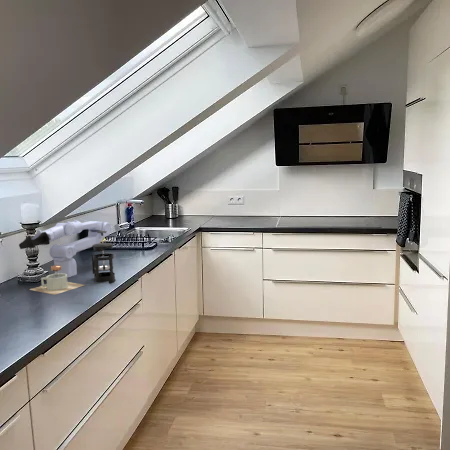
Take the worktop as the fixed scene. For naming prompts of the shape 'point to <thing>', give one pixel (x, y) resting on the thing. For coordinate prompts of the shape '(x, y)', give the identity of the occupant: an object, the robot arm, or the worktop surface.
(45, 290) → the serving board
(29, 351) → the worktop surface
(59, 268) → the plunger
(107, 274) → the french press
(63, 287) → the faceted mug
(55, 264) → the robot arm
